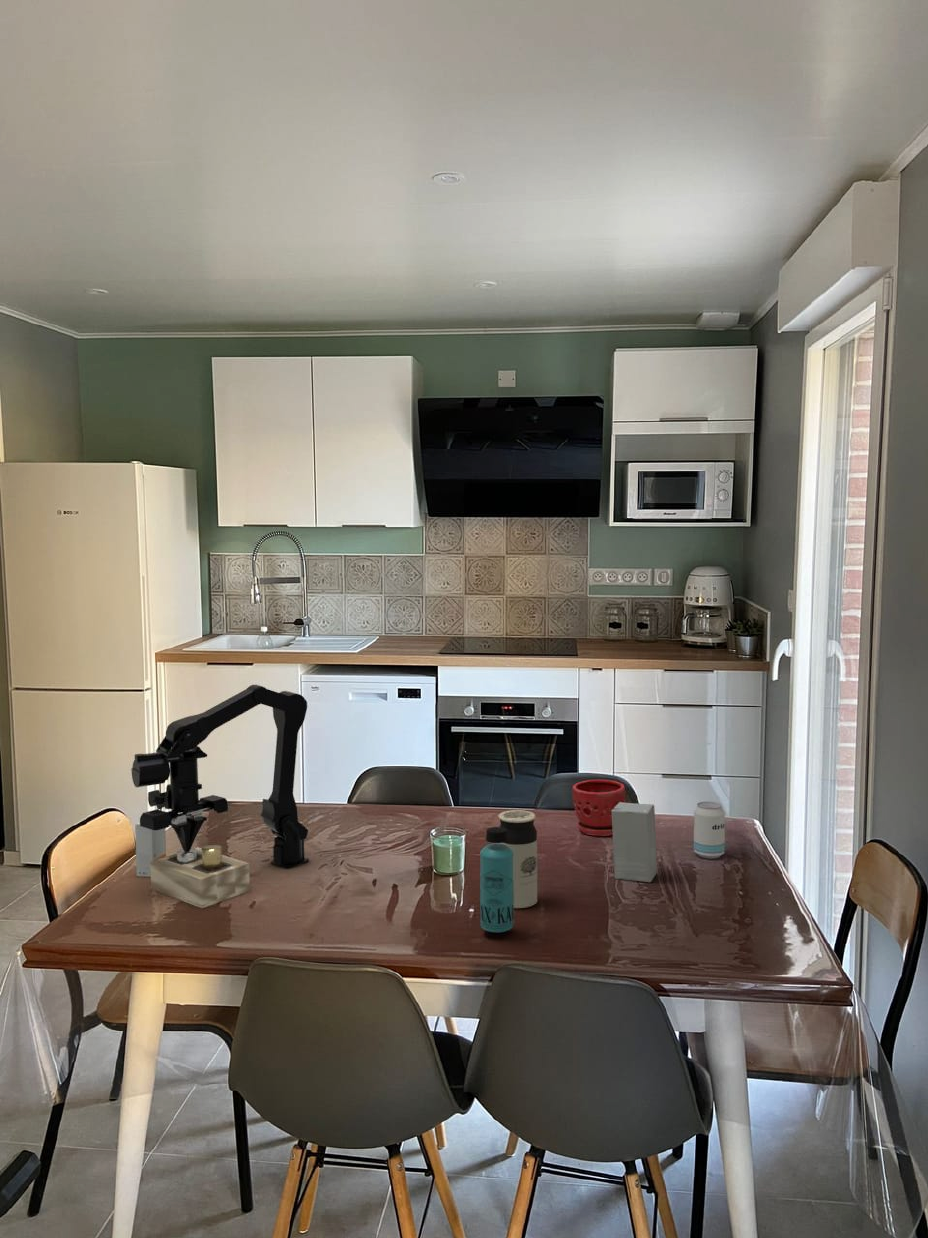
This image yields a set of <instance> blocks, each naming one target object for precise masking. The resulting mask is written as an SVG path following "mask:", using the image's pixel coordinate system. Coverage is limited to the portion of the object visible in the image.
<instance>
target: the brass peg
mask: <svg viewBox="0 0 928 1238" xmlns="http://www.w3.org/2000/svg"><path fill="white" fill-rule="evenodd" d="M222 849H223V848H222V846H221V845H218V844H210V845H205V846H203V847H202V869H203V870H206V871H209V872H211V871H214V870H217V869H220V868H222V855H223V851H222Z"/></svg>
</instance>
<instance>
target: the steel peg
mask: <svg viewBox="0 0 928 1238" xmlns="http://www.w3.org/2000/svg"><path fill="white" fill-rule="evenodd" d="M176 854H177V861H179V862H182V863H186V862H189V861H192V860H195V859H197V858H196V849H194V848H192V847H191V849H190V851H188V852H185V851H184V850H183V848H182V849H178V850H177V851H176Z"/></svg>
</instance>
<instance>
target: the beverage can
mask: <svg viewBox="0 0 928 1238" xmlns="http://www.w3.org/2000/svg"><path fill="white" fill-rule="evenodd" d="M725 815H726V814H725V811H724V809H723V805H722V804H721V803H720V802H715V801H698V802H697V804H696V807H695V809H694V810H693V851H694V853H695V854H697V855H698V857H699V858H702V859H708V860H715V859H719V858H720V857H721V856H722V855H724V854H725V845H726V844H725V837H726V836H725V835H726V832H725V831H726V830H725V829H726V827H725V824H726V822H725V821H726V819H725V818H726V817H725Z"/></svg>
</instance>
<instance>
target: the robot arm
mask: <svg viewBox="0 0 928 1238" xmlns="http://www.w3.org/2000/svg"><path fill="white" fill-rule="evenodd" d="M259 705H262V706H263V705H264V706H267V707H270V708H272V713H273V714H272V716H273V717H272V718H273V720H274V723H275V726H276V742H275V743H276V745H275V755H274V756H275V757H274V768H273V780H272V781H273V782H272V792H271V794H269V795H270V796H269V798H268V799H267V798H263V799H262V801H261V803H262V812H261V813H260V817H261V818H262V819H263V820H262V821H263V823H264V825H265V826H266V827H267V828H269V829H270V831H271V833H272V835H275V836H276V837H274V840H273V842H274V844H273V846H272V850H273V860H270V864H272V865H275V866H279V867H282V868H285V869H291V868H295V867H298V866H300V865H303V864H306V863H308V862H310V859H309V858H307V857H305V840H306V839H307V836H308V833H309V829H308V828H307V827H305V826H304V825H303V824H302V823H300V822H299V815H298V806H297V803H296V799H295V797H294V787H295V786H294V785H295V773H296V772H295V771H296V761H297V760H296V759H297V749H298V736H299V731H300V730H301V728H302V726H303V724H304V723H305V718H306V714H307V709H308V701H307V700H306V699H305V697H304V696H303V695H301V694H299V693H296V692H293V691H288V690H283V691H282V690H281V691H280V692H277V691H275V690H271V689H269V688H266V686H265V687H264V686H262V685H258V684H251V685H249V686H248V687H247V688H246V689H244V690H241V691H240V692H238V693H236V694H235V695H232V696H231V697H229V698H228V699H226V700H223V701H221V702H220V703H218V704H217V705H215V706H213V707H211V708H209V709H207V710H205V711H204V712H200V713H198V714H194V715H193V714H192V715H189V716H186V717H183V718H180V719H176V720H174V721H172V722H171V723H170V724H168V725H167V727H166V729H165V736H164V738H163V739H162V740H161V742H160V743H159V745H158V746H157V748H156V750H155V752H150V753H135V754H134V760H133V762H132V767H131V769H130V770H131V779H132V783H133V785H134V787H135V788H142V787H149V786H150V787H151V786H154V785H163V784H165V783H166V781H169V782H170V784H167V785H166V791H164V792H161V791H160V790H159V789H155V790H152V791H148V793H147V802H148V806H149V807H155V806H156V809H153V810H150V811H145V812H142V813H141V815H140V817H139V822H140V826H141V827H145V828H148V829H151V830H160V829H164V828H166V829H168V828H169V827H171V828H172V829H173V830H174V832H175V834H176V836H177V839H178V841H179V843H180V845H181V847H182V849H183V850H184V851H185V852H188V851H190V849H191V848H192V847H193V844H194V843H195V840H196V838H197V835H198V833H199V831H200V829H201V827H202V826H203V824H204V823H205V822H206V821H208V817H206V816H204V812H207V811H210V810H213V811H214V812H215V813H216V814H221V813H222V814H223V813H225V812H229V811H230V810H229V802H228V800H227V798H225V797H222V796H218V795H214V794H212V795H211V794H210V795H208V796H204V797H199V794H200V793H199V790H202V789H203V784H202V783H199V773H198V771H199V770H198V769H199V768H198V767H199V765H198V764H199V763H198V759H203V758H207V757H208V754H207V753H206V752H204V751H203V750H202V749H201V747H200V746H199V745H200V744H201V743H203V742H204V741H206V739H207V738H208V737H209V736H210V734H211V733H212V732H213V731H215V730H216V729H218V728H219V727H221V726H223V725H225V724H227V723H228V722H230V721H232V720H233V719H235V718H238V717H239V716H241V715H243V714H244V713H246V712H248V711H249V710H252V709H254V708H255V707H257V706H259ZM169 778H170V780H169ZM162 809H165V810H169V811H164V810H162Z"/></svg>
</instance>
